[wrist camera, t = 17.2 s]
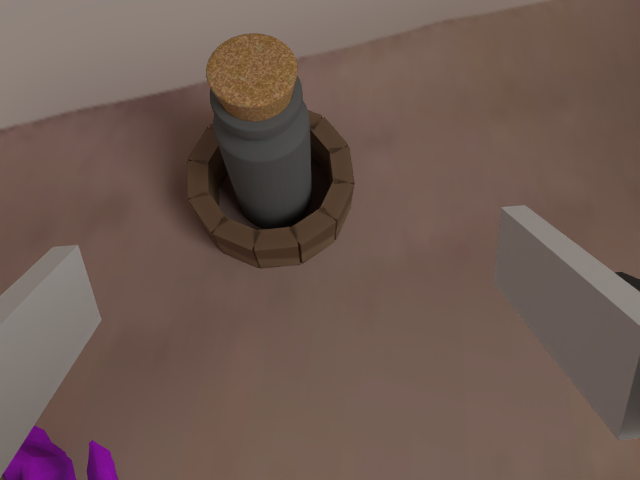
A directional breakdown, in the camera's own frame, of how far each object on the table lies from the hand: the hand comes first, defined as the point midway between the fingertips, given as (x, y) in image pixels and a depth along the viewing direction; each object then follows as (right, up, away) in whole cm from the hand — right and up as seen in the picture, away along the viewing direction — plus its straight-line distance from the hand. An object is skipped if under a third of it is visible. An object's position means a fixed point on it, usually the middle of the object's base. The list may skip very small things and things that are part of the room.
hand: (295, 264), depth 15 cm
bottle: (-3, +4, +23) cm, 24 cm away
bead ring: (-3, +4, +23) cm, 24 cm away
